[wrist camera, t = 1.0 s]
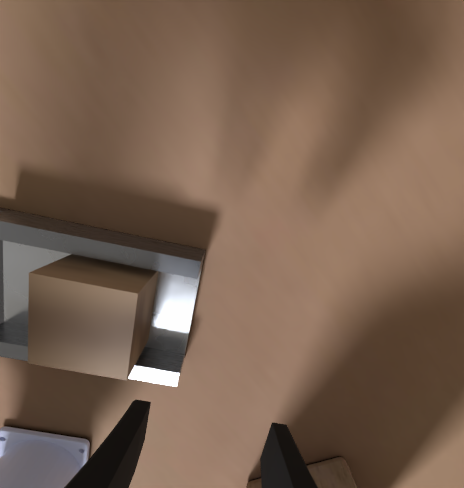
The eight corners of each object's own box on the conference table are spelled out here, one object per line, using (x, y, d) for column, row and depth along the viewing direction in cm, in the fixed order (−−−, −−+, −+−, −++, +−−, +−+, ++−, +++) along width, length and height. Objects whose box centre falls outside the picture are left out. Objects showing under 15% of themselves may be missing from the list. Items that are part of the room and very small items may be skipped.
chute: (184, 359, 20) (176, 386, 17) (-118, 305, 19) (-176, 325, 16) (205, 250, 18) (200, 261, 15) (-137, 179, 16) (-209, 178, 14)
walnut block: (148, 339, 19) (126, 380, 15) (70, 325, 18) (27, 363, 14) (158, 269, 17) (138, 293, 13) (75, 252, 17) (28, 272, 13)
